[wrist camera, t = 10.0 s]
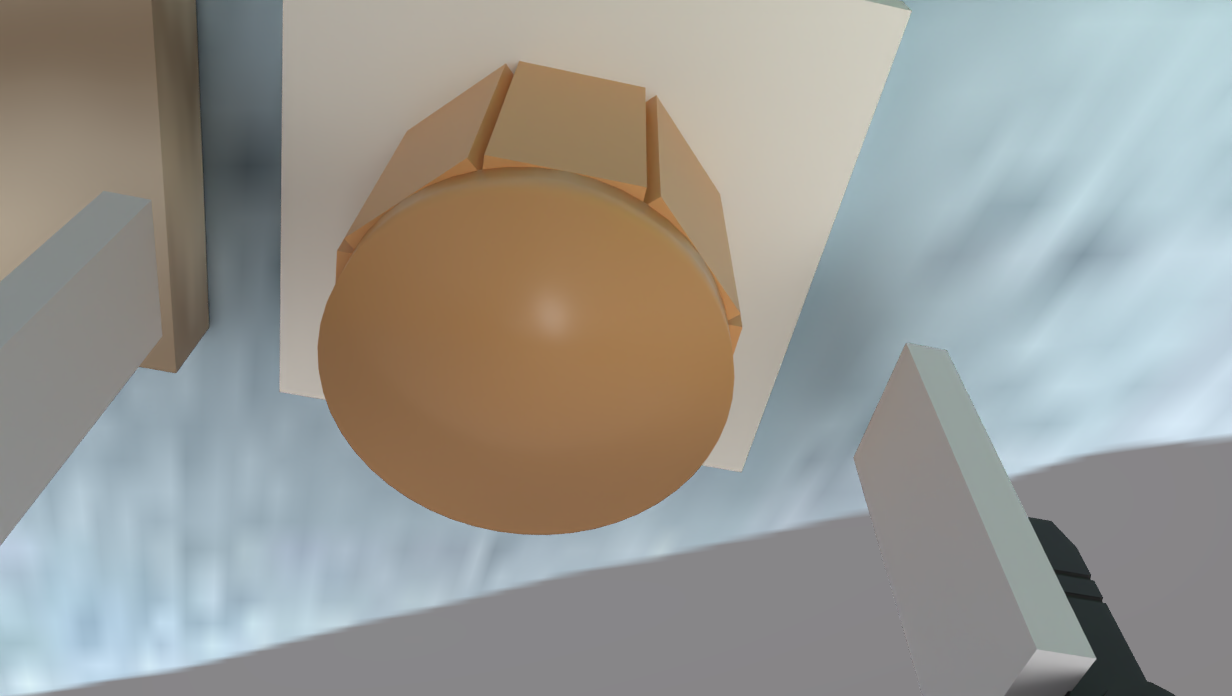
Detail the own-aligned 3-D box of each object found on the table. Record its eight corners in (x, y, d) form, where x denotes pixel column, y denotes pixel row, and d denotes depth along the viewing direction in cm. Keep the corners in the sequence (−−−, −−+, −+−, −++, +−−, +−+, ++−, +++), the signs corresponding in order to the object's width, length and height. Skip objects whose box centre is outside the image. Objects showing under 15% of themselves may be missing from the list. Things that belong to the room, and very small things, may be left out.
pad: (297, -136, 18) (284, -131, 17) (902, 0, 19) (911, 11, 18) (289, 373, 24) (279, 392, 23) (738, 452, 25) (741, 472, 25)
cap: (409, 37, 19) (324, 150, 14) (749, 109, 19) (788, 242, 14) (385, 328, 22) (312, 500, 17) (670, 380, 23) (678, 561, 18)
